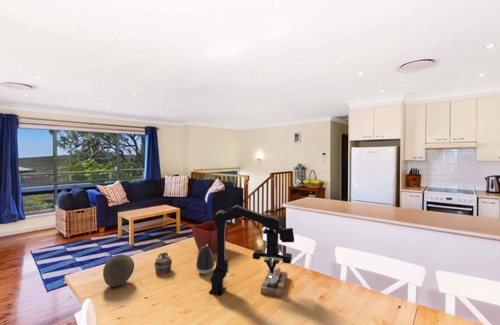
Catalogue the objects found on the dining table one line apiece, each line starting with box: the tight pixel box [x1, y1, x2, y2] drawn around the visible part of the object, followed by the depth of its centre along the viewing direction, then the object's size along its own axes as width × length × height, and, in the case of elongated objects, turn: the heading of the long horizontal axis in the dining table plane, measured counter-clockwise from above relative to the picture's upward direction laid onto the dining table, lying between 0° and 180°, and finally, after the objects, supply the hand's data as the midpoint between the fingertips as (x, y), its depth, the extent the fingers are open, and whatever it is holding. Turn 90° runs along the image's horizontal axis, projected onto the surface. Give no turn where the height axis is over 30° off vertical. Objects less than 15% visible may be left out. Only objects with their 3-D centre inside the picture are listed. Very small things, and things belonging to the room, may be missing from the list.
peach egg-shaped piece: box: [273, 266, 282, 278], centre depth 132 cm, size 4×4×5 cm
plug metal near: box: [268, 274, 277, 288], centre depth 122 cm, size 4×4×5 cm
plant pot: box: [191, 220, 230, 254], centre depth 174 cm, size 19×19×17 cm
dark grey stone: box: [102, 254, 135, 288], centre depth 128 cm, size 14×14×15 cm
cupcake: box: [153, 252, 173, 275], centre depth 143 cm, size 10×10×10 cm
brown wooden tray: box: [260, 269, 288, 298], centre depth 127 cm, size 19×10×3 cm, turn 163°
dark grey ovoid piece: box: [195, 244, 215, 275], centre depth 141 cm, size 10×10×15 cm
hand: (272, 273), depth 121 cm, fingers closed
